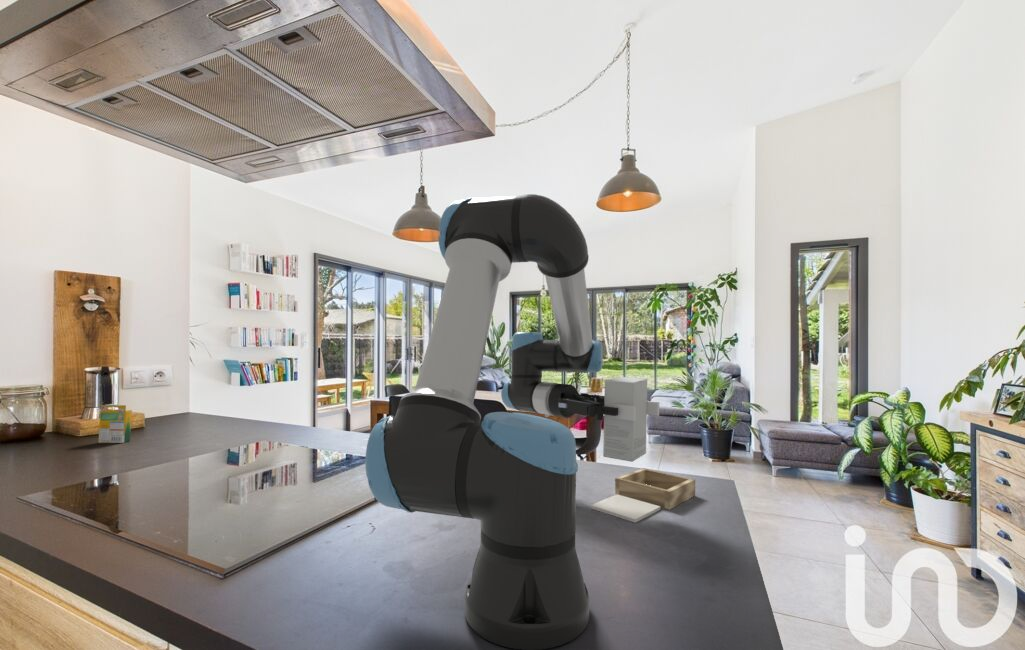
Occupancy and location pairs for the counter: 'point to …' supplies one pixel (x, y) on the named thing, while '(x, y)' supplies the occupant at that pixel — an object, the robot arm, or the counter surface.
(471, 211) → the robot arm
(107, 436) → the crayon box
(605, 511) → the coaster
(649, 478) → the pocket
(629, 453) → the skincare box
